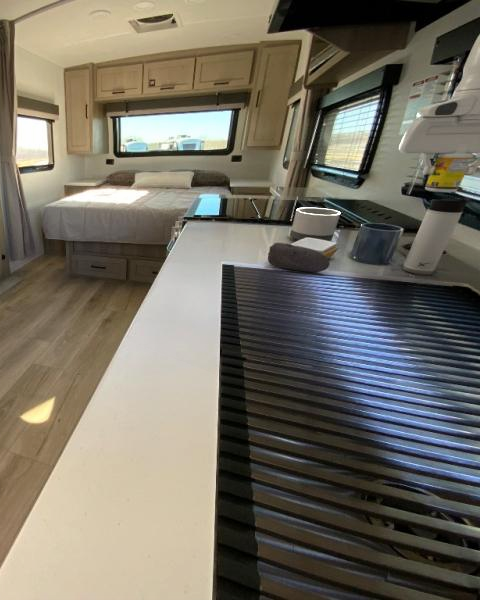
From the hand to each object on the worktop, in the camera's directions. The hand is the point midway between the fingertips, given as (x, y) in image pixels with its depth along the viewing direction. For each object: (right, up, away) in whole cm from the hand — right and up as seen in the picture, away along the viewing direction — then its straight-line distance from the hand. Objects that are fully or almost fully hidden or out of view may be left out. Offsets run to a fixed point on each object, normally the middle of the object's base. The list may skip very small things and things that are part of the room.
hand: (446, 174), depth 77 cm
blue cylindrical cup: (+3, -17, +24) cm, 30 cm away
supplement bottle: (0, -3, +2) cm, 4 cm away
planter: (-2, -8, +43) cm, 43 cm away
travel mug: (+8, -21, +15) cm, 27 cm away
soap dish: (-14, -17, +26) cm, 34 cm away
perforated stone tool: (-24, -21, +18) cm, 36 cm away
